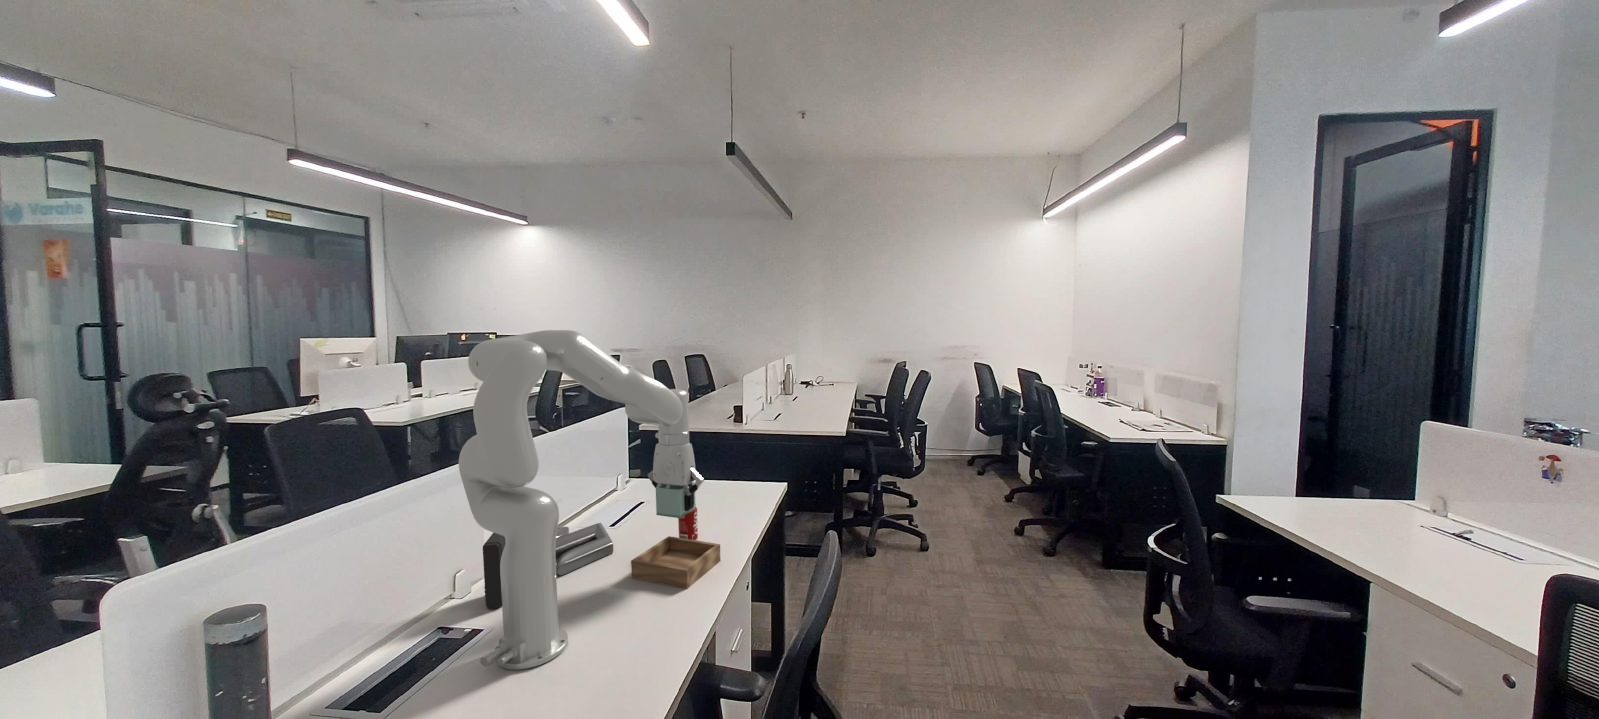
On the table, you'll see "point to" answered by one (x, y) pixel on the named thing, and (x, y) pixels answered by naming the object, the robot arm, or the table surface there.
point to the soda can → (688, 526)
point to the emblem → (581, 547)
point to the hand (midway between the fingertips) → (676, 506)
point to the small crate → (671, 501)
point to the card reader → (493, 570)
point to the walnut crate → (676, 562)
